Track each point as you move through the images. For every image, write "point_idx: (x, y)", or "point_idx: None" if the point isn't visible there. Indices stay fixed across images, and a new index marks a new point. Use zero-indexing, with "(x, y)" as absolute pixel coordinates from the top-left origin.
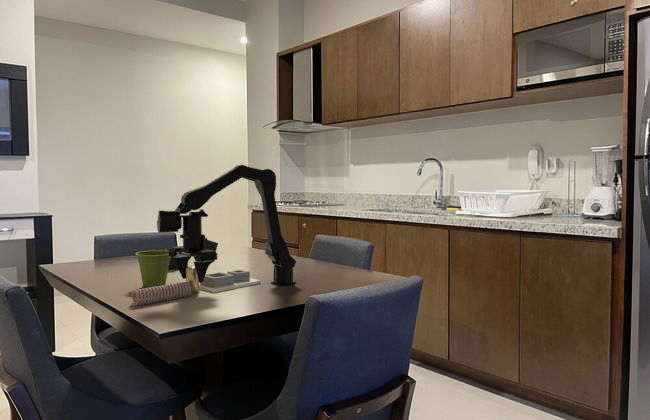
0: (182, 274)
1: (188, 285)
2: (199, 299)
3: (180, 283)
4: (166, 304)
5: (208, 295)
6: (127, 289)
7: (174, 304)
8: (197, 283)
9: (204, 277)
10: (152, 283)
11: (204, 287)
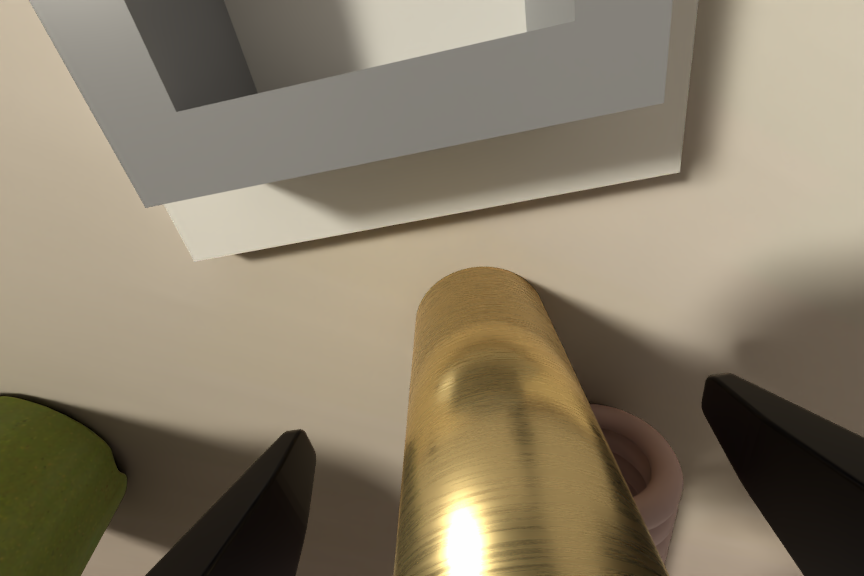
0: (303, 528)
1: (675, 502)
2: (777, 376)
3: None
4: (688, 542)
5: (724, 257)
6: (130, 572)
7: (732, 519)
8: (572, 369)
9: (819, 417)
10: (107, 522)
11: (482, 207)
